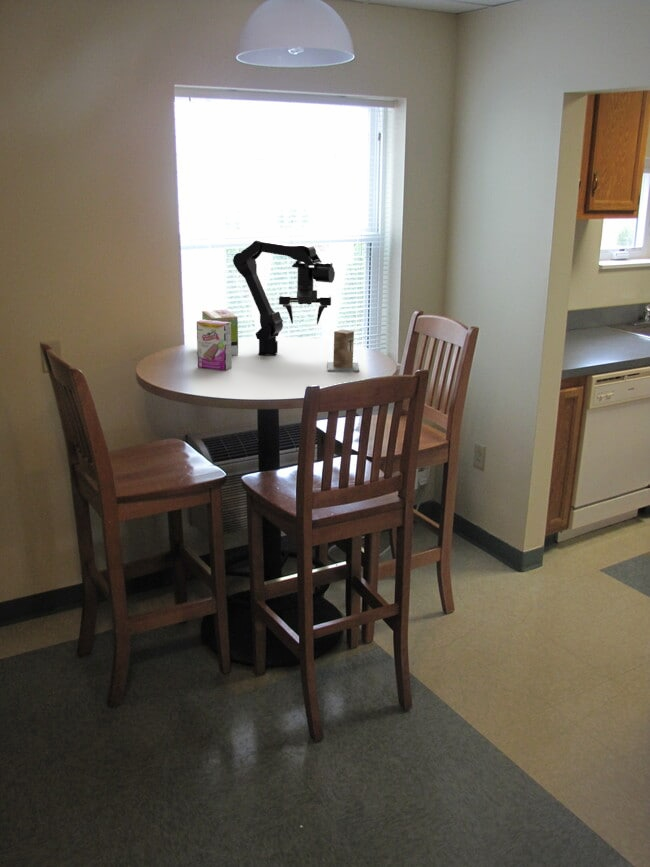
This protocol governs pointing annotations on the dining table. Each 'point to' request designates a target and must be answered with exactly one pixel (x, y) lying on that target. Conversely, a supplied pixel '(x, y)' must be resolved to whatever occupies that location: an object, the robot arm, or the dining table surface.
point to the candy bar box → (214, 344)
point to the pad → (337, 369)
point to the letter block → (343, 348)
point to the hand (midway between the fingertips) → (304, 323)
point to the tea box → (225, 317)
